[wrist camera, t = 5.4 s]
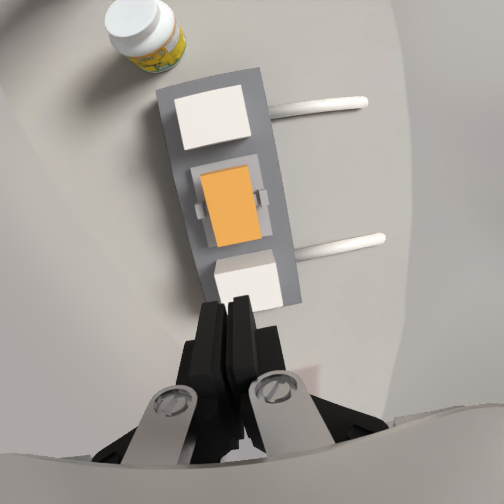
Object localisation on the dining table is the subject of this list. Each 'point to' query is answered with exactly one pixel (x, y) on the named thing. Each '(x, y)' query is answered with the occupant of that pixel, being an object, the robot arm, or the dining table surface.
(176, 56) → the supplement bottle
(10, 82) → the dining table surface
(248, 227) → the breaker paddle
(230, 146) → the power strip
